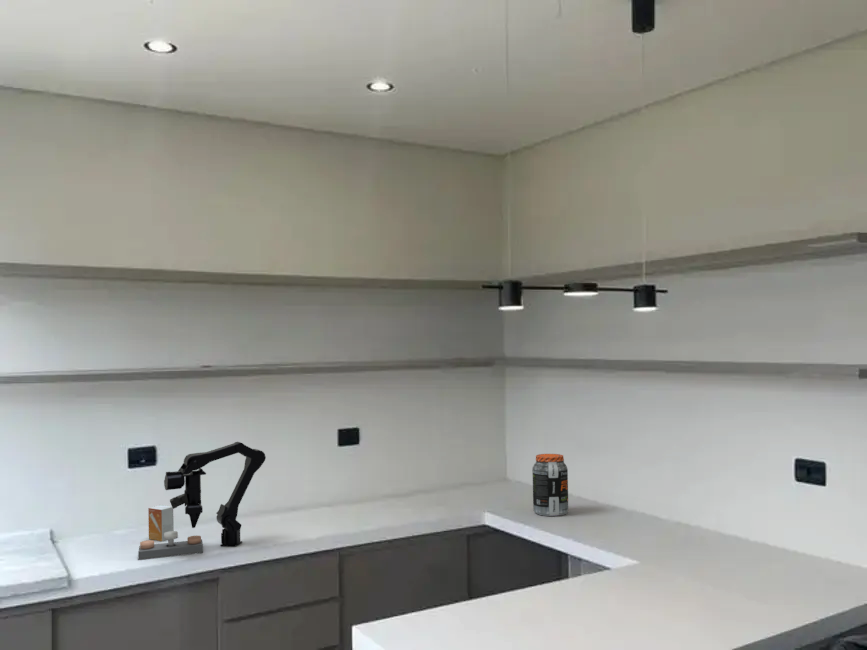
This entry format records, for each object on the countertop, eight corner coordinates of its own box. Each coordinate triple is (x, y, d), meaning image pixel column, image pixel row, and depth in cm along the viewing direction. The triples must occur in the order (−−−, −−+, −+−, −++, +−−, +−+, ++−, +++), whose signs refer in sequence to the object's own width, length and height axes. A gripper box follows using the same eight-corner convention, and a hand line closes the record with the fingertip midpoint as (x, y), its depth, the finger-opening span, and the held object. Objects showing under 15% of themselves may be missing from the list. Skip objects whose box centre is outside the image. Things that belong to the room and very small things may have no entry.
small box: (148, 539, 311) (147, 507, 312) (160, 535, 317) (160, 504, 317) (162, 541, 307) (161, 509, 308) (174, 538, 313) (173, 506, 313)
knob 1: (154, 553, 290) (154, 539, 290) (154, 556, 285) (154, 542, 285) (140, 554, 288) (140, 541, 288) (140, 557, 284) (139, 544, 284)
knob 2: (201, 548, 295) (200, 535, 296) (201, 551, 291) (201, 538, 291) (187, 549, 294) (187, 536, 294) (187, 552, 289) (187, 539, 289)
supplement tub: (568, 517, 331) (567, 458, 332) (532, 516, 334) (530, 458, 335) (568, 509, 347) (567, 452, 348) (534, 508, 350) (532, 452, 350)
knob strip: (202, 546, 298) (202, 539, 298) (203, 552, 289) (202, 544, 289) (139, 553, 290) (139, 545, 290) (138, 559, 282) (138, 551, 282)
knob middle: (177, 543, 293) (177, 530, 293) (178, 547, 288) (177, 533, 288) (164, 545, 291) (163, 531, 291) (164, 548, 286) (163, 534, 287)
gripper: (171, 484, 299) (171, 524, 299) (171, 493, 281) (171, 535, 281) (200, 482, 303) (200, 521, 302) (202, 490, 285) (202, 532, 285)
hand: (193, 527), depth 292 cm, fingers closed
